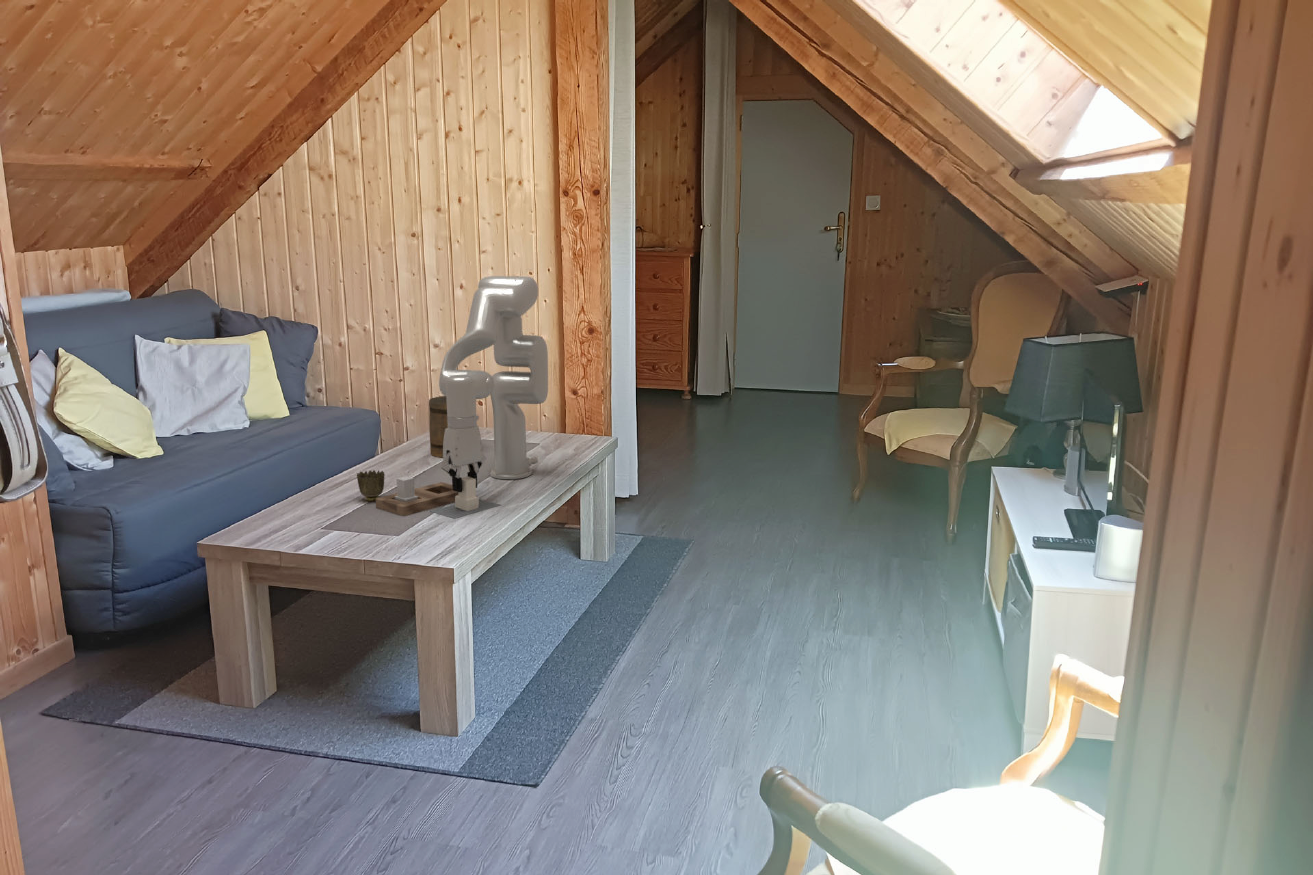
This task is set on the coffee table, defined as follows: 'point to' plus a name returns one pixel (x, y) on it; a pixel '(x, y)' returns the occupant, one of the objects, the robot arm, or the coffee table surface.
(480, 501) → the mat
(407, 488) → the grey plug
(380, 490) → the cup
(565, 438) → the coffee table surface
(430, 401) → the wooden container
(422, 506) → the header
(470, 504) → the ivory plug
